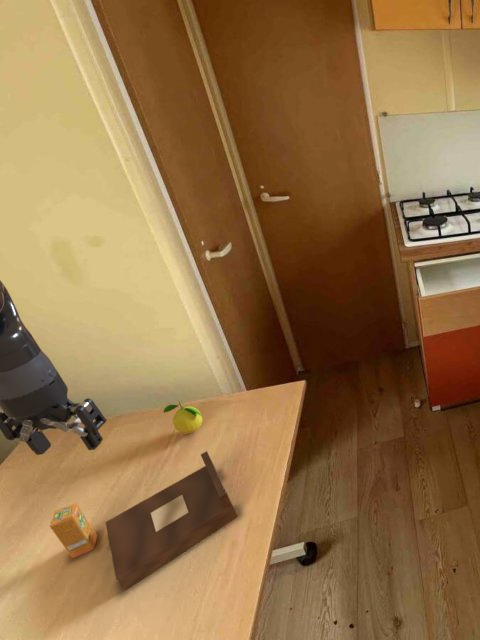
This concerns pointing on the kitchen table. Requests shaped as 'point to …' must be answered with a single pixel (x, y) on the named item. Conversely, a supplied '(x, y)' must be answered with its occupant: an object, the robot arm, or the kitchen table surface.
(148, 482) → the kitchen table surface
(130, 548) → the shelf
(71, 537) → the supplement box
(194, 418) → the lemon
